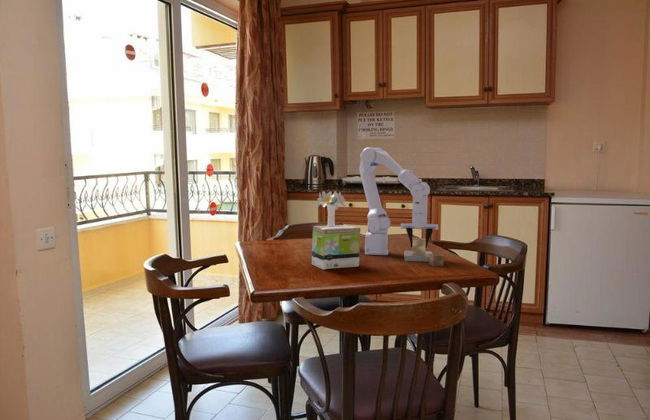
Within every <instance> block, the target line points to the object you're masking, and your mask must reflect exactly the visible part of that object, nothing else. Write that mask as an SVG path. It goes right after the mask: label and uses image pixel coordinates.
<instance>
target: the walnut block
mask: <svg viewBox="0 0 650 420" xmlns="http://www.w3.org/2000/svg"><path fill="white" fill-rule="evenodd" d="M428 265H430V266H431V265H432V266H431V267H444V255H443V254H441V253H432V254H429V262H428Z"/></svg>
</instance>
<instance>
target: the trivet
mask: <svg viewBox="0 0 650 420" xmlns="http://www.w3.org/2000/svg"><path fill="white" fill-rule="evenodd" d="M429 254H433V252H432V251H427V250H425V254H424V253H412V250H404V251H403V257H404V258H403V259H404V262H422V261H423V262H424V263H426V262H428V263H429Z"/></svg>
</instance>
